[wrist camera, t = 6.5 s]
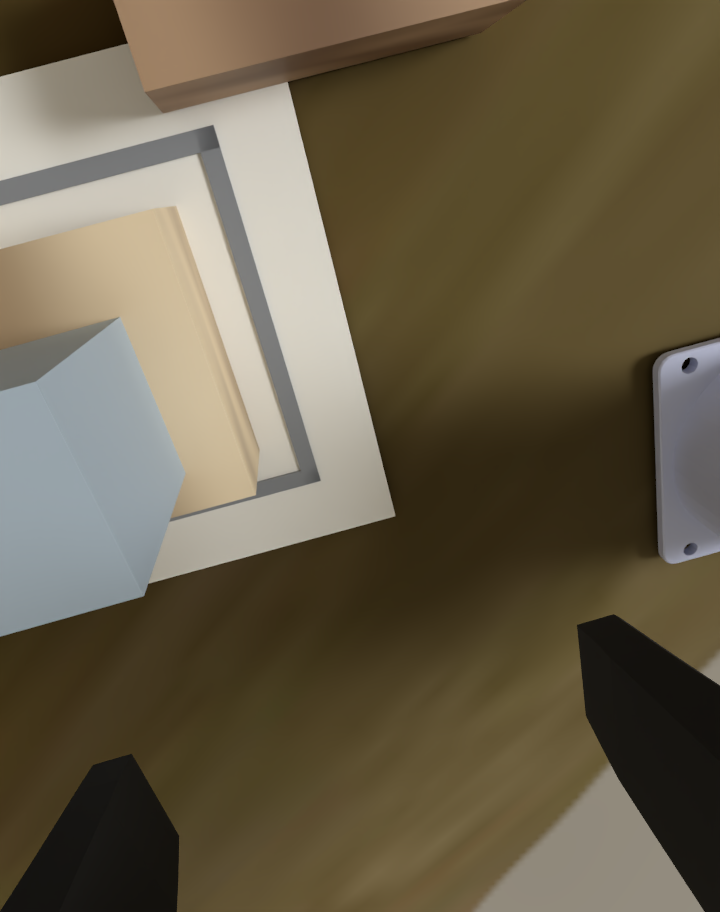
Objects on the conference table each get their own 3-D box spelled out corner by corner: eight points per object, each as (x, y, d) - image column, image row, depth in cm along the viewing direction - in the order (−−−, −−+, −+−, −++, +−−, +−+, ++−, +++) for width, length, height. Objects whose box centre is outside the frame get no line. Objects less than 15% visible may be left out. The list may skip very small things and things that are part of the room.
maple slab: (176, 205, 15) (153, 208, 12) (259, 449, 18) (255, 495, 15) (-94, 277, 15) (-176, 295, 12) (34, 510, 18) (-10, 567, 15)
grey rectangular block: (120, 316, 13) (36, 381, 9) (185, 473, 15) (144, 596, 10) (-56, 365, 13) (-233, 455, 9) (30, 516, 15) (-81, 659, 10)
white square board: (268, 10, 14) (268, 5, 14) (394, 511, 20) (395, 517, 20) (-316, 162, 14) (-332, 162, 14) (-17, 623, 20) (-23, 631, 19)
